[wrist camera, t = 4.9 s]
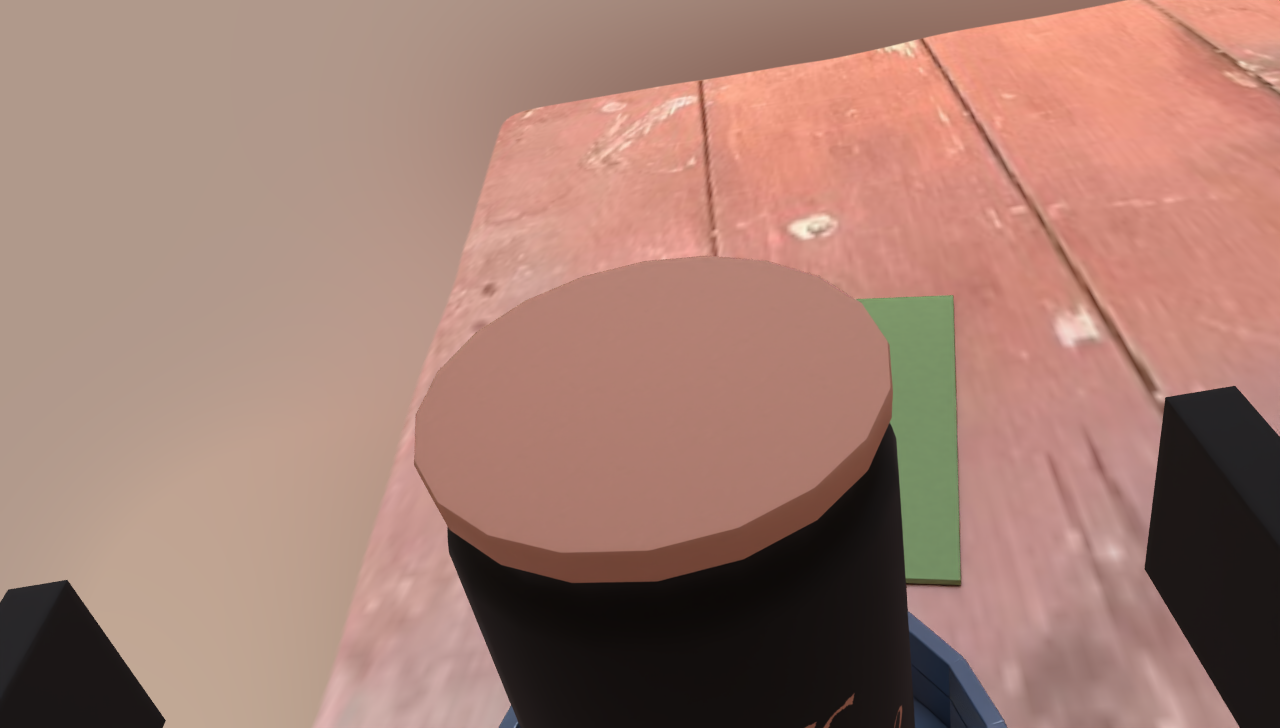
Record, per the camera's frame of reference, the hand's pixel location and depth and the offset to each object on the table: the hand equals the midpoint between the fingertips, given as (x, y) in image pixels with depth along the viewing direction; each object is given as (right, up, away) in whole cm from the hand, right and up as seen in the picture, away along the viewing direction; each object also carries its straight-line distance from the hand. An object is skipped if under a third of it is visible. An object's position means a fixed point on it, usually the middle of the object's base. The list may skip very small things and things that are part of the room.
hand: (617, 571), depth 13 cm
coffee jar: (+4, -12, +20) cm, 24 cm away
